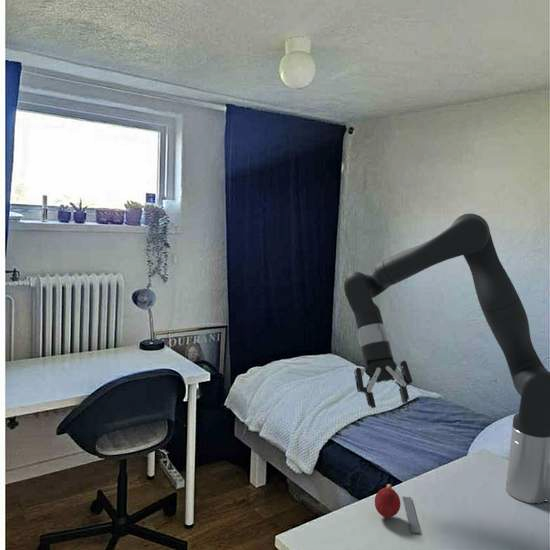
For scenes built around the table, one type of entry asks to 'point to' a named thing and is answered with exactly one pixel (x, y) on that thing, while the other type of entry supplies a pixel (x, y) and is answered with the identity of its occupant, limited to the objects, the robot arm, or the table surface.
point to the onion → (387, 502)
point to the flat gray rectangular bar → (411, 515)
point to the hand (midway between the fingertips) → (389, 405)
